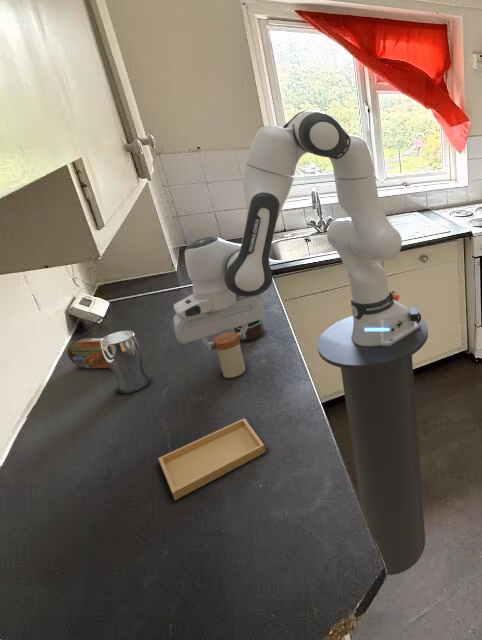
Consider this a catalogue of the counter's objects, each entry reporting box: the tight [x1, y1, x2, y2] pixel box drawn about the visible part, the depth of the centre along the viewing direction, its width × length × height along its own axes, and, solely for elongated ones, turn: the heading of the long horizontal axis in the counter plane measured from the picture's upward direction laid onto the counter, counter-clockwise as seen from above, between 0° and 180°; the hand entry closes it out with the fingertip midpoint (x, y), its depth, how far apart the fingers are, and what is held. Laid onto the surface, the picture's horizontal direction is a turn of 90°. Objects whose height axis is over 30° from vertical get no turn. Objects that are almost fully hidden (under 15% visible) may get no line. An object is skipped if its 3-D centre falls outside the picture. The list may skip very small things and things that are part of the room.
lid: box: [212, 331, 241, 350], centre depth 115 cm, size 6×6×2 cm
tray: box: [157, 417, 267, 501], centre depth 90 cm, size 16×12×2 cm
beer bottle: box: [233, 319, 264, 342], centre depth 133 cm, size 8×8×24 cm
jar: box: [215, 343, 246, 379], centre depth 117 cm, size 5×5×11 cm
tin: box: [67, 337, 110, 369], centre depth 119 cm, size 15×3×8 cm, turn 92°
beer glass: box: [100, 330, 150, 394], centre depth 109 cm, size 7×7×15 cm
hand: (227, 343), depth 115 cm, fingers closed on lid, 6 cm apart
